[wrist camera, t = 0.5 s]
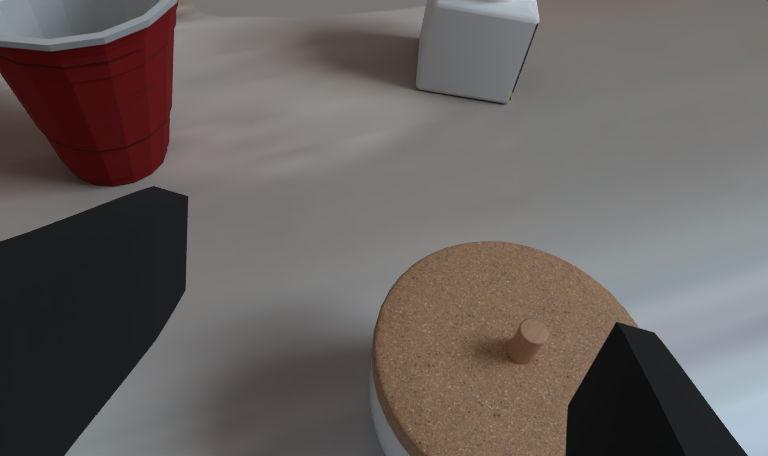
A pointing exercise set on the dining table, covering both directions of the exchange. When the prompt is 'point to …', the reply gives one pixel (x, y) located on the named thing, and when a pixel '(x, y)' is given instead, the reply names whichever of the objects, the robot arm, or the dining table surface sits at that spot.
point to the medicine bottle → (475, 47)
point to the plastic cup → (94, 80)
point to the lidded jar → (485, 351)
